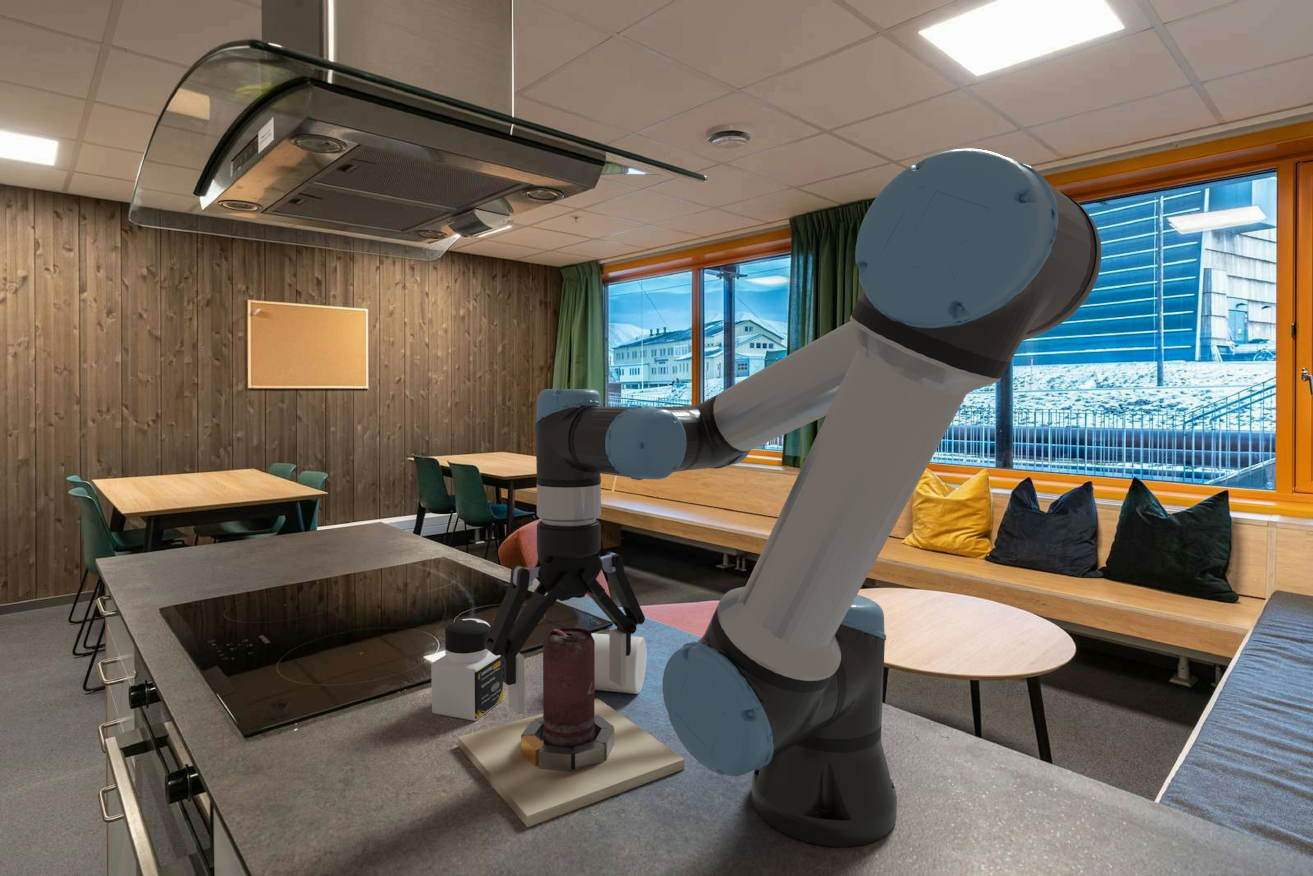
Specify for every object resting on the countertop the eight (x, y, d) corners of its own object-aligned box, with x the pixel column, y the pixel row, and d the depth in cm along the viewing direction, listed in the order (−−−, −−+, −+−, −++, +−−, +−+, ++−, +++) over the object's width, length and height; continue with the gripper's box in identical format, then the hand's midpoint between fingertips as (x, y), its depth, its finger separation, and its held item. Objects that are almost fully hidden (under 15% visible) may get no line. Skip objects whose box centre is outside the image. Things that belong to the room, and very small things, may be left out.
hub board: (684, 768, 84) (684, 759, 84) (527, 827, 72) (527, 816, 72) (597, 706, 100) (597, 698, 100) (458, 746, 89) (458, 736, 88)
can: (562, 731, 90) (562, 622, 89) (604, 744, 87) (604, 631, 86) (531, 751, 85) (530, 636, 84) (573, 766, 82) (573, 647, 81)
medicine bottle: (475, 722, 95) (475, 633, 94) (430, 714, 97) (429, 627, 97) (504, 700, 102) (503, 617, 101) (461, 693, 104) (460, 612, 103)
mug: (634, 703, 102) (635, 648, 101) (567, 696, 104) (567, 642, 103) (652, 671, 113) (652, 621, 113) (591, 665, 115) (591, 617, 115)
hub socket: (628, 753, 85) (628, 737, 85) (548, 780, 79) (548, 763, 79) (584, 719, 93) (584, 705, 93) (509, 741, 87) (509, 726, 87)
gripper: (639, 506, 94) (638, 663, 96) (454, 525, 80) (456, 710, 81) (672, 514, 88) (671, 682, 90) (479, 536, 74) (481, 735, 75)
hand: (569, 695), depth 86 cm, fingers open, 13 cm apart
